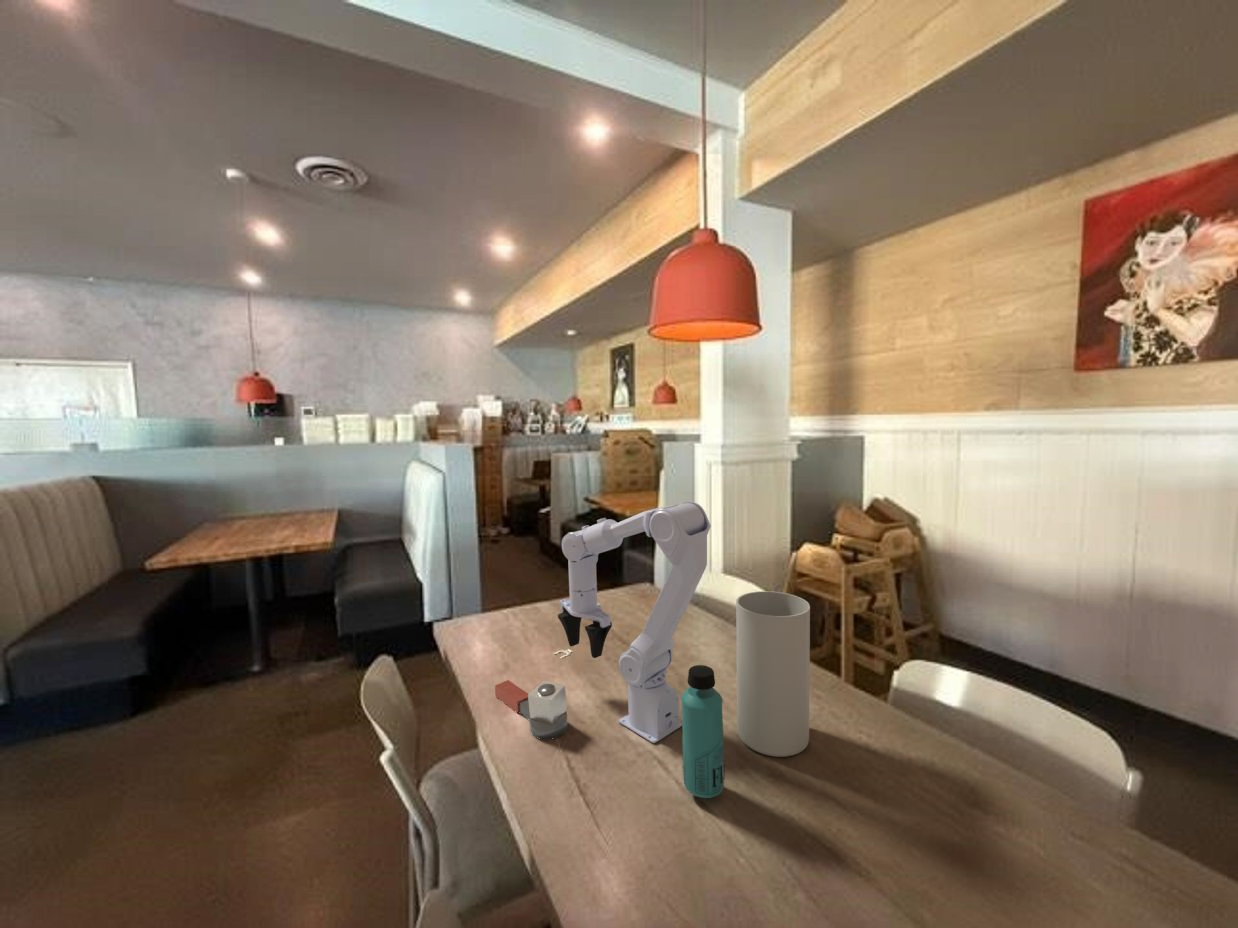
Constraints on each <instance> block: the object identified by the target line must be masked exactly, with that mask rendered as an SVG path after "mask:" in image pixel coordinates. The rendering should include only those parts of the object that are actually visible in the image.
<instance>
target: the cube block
mask: <svg viewBox="0 0 1238 928" xmlns="http://www.w3.org/2000/svg"><path fill="white" fill-rule="evenodd" d="M566 693H567V692H566V686H565V685H564V684H559V683H555V682H552V681H548V680H545V679H544V680H542V681H541V682H539V684H538V685H537V686H536V687H534V688H533V690H531V691H530V692H529V693H528V701H529V710H530V719H532V720H535V721H539V722H542V723H545V724H549V725H552V726H553V725H554V723H555V722H556V721H557V720H558V719H559V718H560V717H561V716H562V715H563V713H564V712H565V711H566V712H567V710H568V705H567V694H566Z"/></svg>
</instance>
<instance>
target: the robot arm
mask: <svg viewBox="0 0 1238 928" xmlns="http://www.w3.org/2000/svg"><path fill="white" fill-rule="evenodd" d="M596 522H597V523H595V524H592V525H591V526H590V525H589V524H588V525H583V526H582V527H581V530H577V531H571V532H567V534H565V535H564V536H563V537H562V539H561V550H562V553H563V556H564V557H565V558H566V560H568V588H569V589H568V591H569V592H568V593H569V599H568V598H563V599H561V600H559V610H561V611H562V612H561V613H558V614H557V619H558V620H559V621H560V623H561V625H562V628H563V629H564V632H565V635H566V637H567V643H568V645H569V646H570V647H571V648H572V647H574V646H577V645H579V644H580V639H581V637H580V636H581V622H582V619H587V620H588V621H591V622H592V623H590V624H588V625H585V626H584V629H585V631H586V633H587V637H588V640H589V646H590V654H591V657H592V658H593V659H597V658H598V657H601V656H603V651H604V646H605V641H606V639H607V636H608V635H609V632H610V630H611V628H612V627H613V623H612V621H611V615H610V614H607V613H605V611H604V610H602V608H601V607H602V605H601V603H599V602H598V587H597V586H598V582H597V581H598V580H597V563H598V561H599V554H601V553H605V552H608V551H611V550H614V549H617V548H619V547H620V546H621V545H622V543H623V540H624V538H627V537H631V536H634V535H638V534H640V533H644V532H645V534H646V536H647V537H648V538H653V540H654V541H655V543H656V544H657V545H658V547H659V548H660V551H662V553H663V555H664V557H666V559H667V560H668V562H669V563H671V564H672V566H671V569H670V571H669V573H668V575H667V577H666V579H665V582H664V584H663V586H662V588H661V590H660V593H659V595H658V597H657V600H656V602H655V604H654V606H653V608H652V610H651V612H650V615H649V616H648V618H647V621H646V623H645V625H644V628H643V630H642V632H641V633H640V634H639V636H637V637H636V638H635V640H634V641H632V643H631V644H630V646H629V648H628V650H626V651H624V652H622V653H621V654H620V656H619V659H618V670H619V673H620V674H621V677H622V679H623V680H624V681H625V683H626V684H627V705H628V706H627V707H628V709H627V710H628V714H626V715H625V716H623V717H621V718H619V719H618V723H620V724H621V725H623V726H625V728H628V729H630V730H631V731H632V732H634V733H636V734H638V736H641V737H642V738H644V739H645V740H647V741H649V742H650V743H651V744H656V743H657V742H659V741H661V740H662V739H664V738H666V737H667V736H668V735H670V734H672V733H673V732H675V730H677V729H679V728H681V727H682V721H680V709H679V708H680V701H679V700H680V699H679V694H678V692H677V690H676V688H675V689H674V687H672V686H671V685H670V683H668V681H667V678H666V675H667V674H668V667H670V665H672V663H673V653H674V652H673V651H674V648H675V645H676V643H675V641H674V639H673V637H674V635H675V632H676V631H677V629H678V626H679V625H680V623H681V620H682V618H683V616H684V614H685V612H686V610H687V608H688V605H689V603H690V602H691V600H692V597H693V596H694V593H695V591H696V590H697V588H698V585H699V583H700V581H701V580H702V577H703V575H704V573H705V572H706V569H707V565H708V534H709V531H710V530H711V527H712V526H711V523H710V520H709V518H708V516H707V513H706V511H705V509H704V508H703V506H701V505H700V504H699V503H697V502H695V501H686V502H683V503H682V504H673V505H672V504H671V505H665V506H662V507H655V508H652V509H648V510H645V511H642V512H640V513H638V514H635V515H632V516H630V517H628V518H625V519H623V520H621V521H619V522H617V521H616V520H614V519H607V518H606V517H603V518H600V519H597V520H596Z"/></svg>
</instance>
